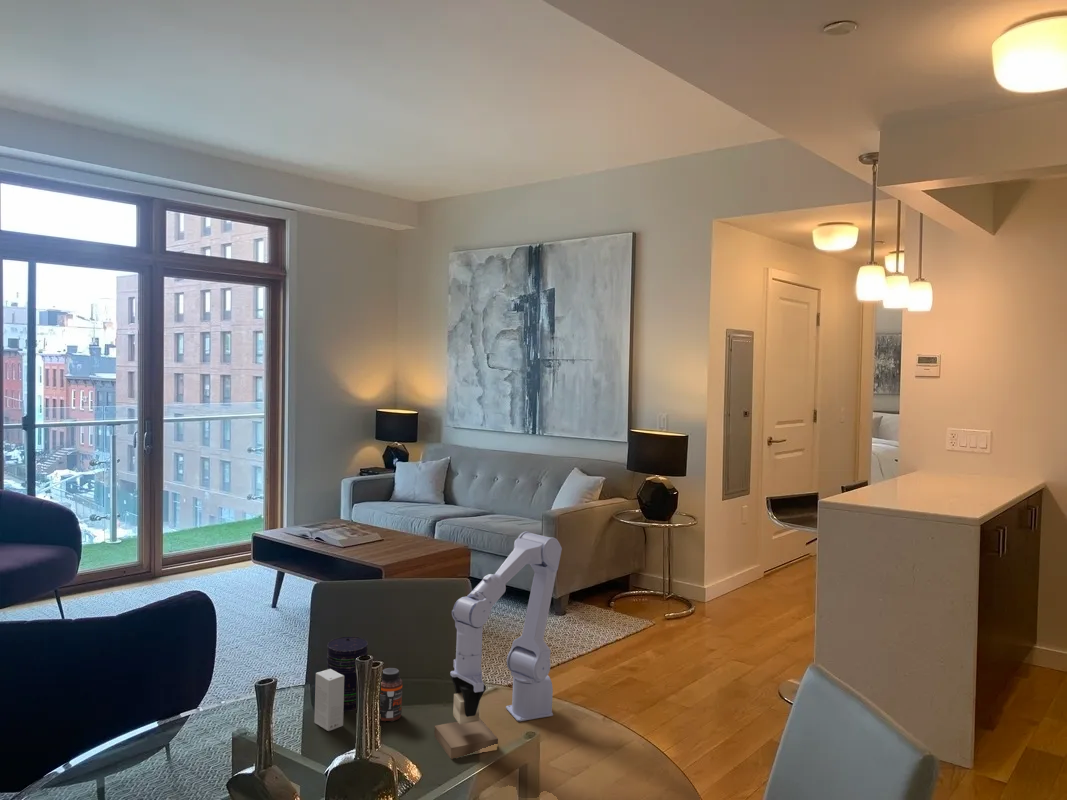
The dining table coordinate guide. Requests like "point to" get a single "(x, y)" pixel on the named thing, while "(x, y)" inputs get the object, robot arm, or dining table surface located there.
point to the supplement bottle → (391, 695)
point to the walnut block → (464, 737)
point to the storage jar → (346, 664)
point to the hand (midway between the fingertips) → (466, 710)
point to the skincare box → (329, 699)
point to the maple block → (462, 710)
